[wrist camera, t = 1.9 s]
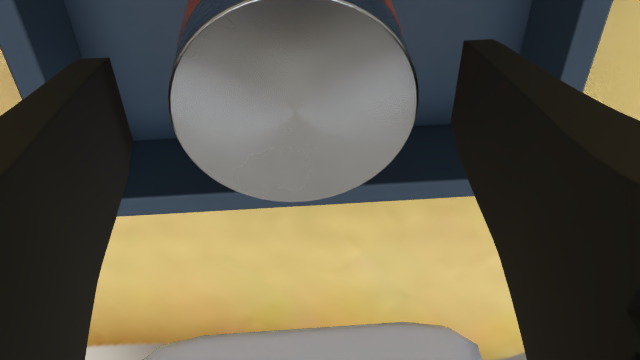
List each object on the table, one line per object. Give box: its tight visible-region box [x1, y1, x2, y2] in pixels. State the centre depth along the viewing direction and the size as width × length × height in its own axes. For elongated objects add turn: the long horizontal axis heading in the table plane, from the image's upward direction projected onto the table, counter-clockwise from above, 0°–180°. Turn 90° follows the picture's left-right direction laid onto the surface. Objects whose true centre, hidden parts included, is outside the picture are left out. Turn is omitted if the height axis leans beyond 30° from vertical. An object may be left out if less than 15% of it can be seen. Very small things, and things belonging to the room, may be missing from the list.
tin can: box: [168, 0, 419, 202], centre depth 14 cm, size 5×5×7 cm
